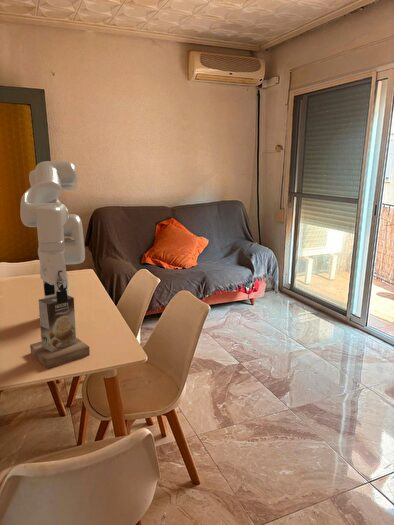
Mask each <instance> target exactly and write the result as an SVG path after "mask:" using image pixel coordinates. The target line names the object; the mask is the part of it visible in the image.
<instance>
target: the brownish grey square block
mask: <svg viewBox="0 0 394 525" xmlns="http://www.w3.org/2000/svg"><path fill="white" fill-rule="evenodd" d="M29 348H30V354H31V355H32V356H33V357H35V359H36V360H37V361H39V363H41V364H42V366H44V367H45V368H46V369H48V370H49V369H50V368H53V367H57V366H61V365H64V364H65V363H70V362H73V361H75V360H79V359H81V358H85V357H87V356H90V355H91V353H90V346H89V345H88V344H86V343H85V342H84V341H82V339H81V340H80V338H78V337H76V344H73V345H70V346H67V347H64V348H62V349H59V350H56V351H53V352H51V351H49V350H47V349H45V348H44V347H42V341H38V342H36V343H35V342H34V343H31V344H29Z"/></svg>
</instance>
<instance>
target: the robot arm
mask: <svg viewBox="0 0 394 525" xmlns="http://www.w3.org/2000/svg"><path fill="white" fill-rule="evenodd" d="M28 178H29V184H30V187H29V188H28V189H27V190H26V191H25V192H24V193H23V195H22V196H21V199H20V208H19V209H20V210H19V211H20V214H19V215H20V219H21V222H22V224H23V225H24V226H25V227H29V228H36V229H37V230H36V231H37V240H38V242H37V244H38V248H37V255H38V259H39V276H40V279H41V280H42V283H43V284H42V285H43V295H44V296H43V299H44V298H49V297H53V296H57V304H62V303H66V302H68V299H67V295H68V296H70V288H69V276H68V273H67V267H66V265H78V264H79V265H80V264H81V263H82V264H83V263H84V261H85V259H86V250H85V239H84V229H83V221H82V219H81V217H80V216H79V215H78V214H76V213H75V214H74V213H69V208H68V207H67V206H66V205H65V204H64V203H62V202H61V201H60V199H59V197H60V196H61V194H62V191H67V192H68V191H74V190H75V189H76V187H77V182H78V170H77V168H76V166H75V164H74V163H72V162H71V161H65V160H63V161H62V160H61V161H58V160H57V161H56V160H52V161H51V160H46V161H45V160H44V161H40V162H39V163H37V164H36V166H35V168H34V169H33V170H31V171H30V172H29V173H28ZM65 239H70V240H65Z"/></svg>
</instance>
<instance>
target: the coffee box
mask: <svg viewBox="0 0 394 525" xmlns="http://www.w3.org/2000/svg"><path fill="white" fill-rule="evenodd" d="M67 299H68V302H66V303H62V304H57V296H53V297H49V298H44V297H43V298H41V299H40V298H39V299H38V309H39V310H38V312H39V324H40V325H39V326H40V340H41V341H42V347H44V348H45V349H47V350H49V351H51V352H53V351H56V350H59V349H62V348H64V347H67V346H70V345H73V344H76V338H77V332H76V316H75V315H76V314H75V312H76V311H75V298H74V297H73V296H71V295H69V296H68V295H67ZM41 341H40V342H41Z"/></svg>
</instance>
